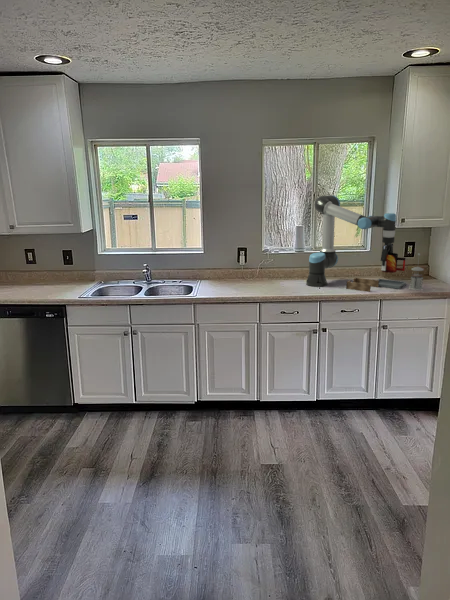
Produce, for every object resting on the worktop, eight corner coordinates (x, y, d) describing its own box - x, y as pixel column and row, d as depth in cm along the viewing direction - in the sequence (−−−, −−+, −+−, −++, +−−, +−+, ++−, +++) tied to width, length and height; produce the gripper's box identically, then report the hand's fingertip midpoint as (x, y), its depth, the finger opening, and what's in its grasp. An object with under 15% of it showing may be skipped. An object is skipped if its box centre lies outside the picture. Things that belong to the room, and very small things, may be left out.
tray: (371, 285, 315) (371, 282, 314) (379, 281, 327) (379, 278, 326) (398, 289, 302) (399, 286, 302) (406, 284, 314) (406, 281, 314)
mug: (404, 272, 289) (406, 255, 285) (383, 272, 290) (384, 255, 287) (400, 269, 298) (401, 252, 295) (379, 269, 299) (381, 252, 296)
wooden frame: (346, 288, 308) (346, 281, 307) (355, 284, 320) (355, 277, 319) (369, 291, 298) (370, 284, 296) (378, 287, 310) (378, 280, 308)
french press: (424, 287, 305) (427, 252, 298) (422, 291, 296) (425, 255, 289) (409, 286, 310) (412, 251, 303) (407, 289, 300) (410, 254, 294)
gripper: (388, 238, 278) (385, 272, 284) (399, 235, 295) (397, 267, 301) (377, 238, 283) (374, 271, 289) (388, 234, 300) (386, 266, 306)
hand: (386, 269), depth 295 cm, fingers closed on mug, 10 cm apart
